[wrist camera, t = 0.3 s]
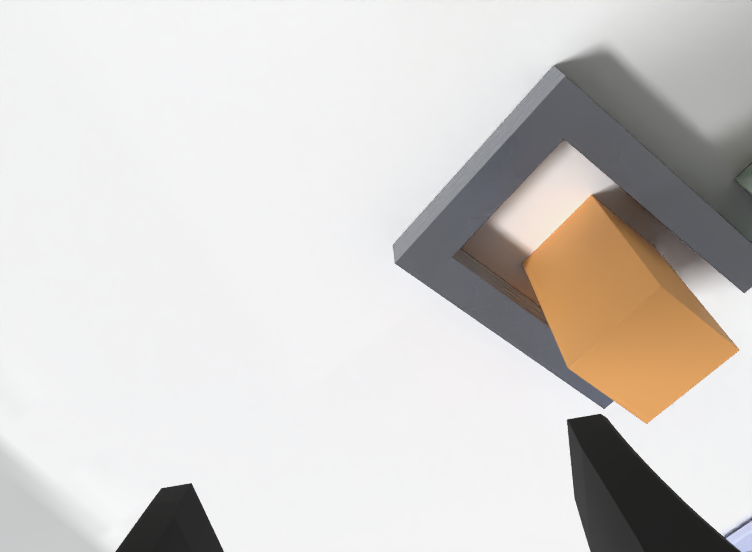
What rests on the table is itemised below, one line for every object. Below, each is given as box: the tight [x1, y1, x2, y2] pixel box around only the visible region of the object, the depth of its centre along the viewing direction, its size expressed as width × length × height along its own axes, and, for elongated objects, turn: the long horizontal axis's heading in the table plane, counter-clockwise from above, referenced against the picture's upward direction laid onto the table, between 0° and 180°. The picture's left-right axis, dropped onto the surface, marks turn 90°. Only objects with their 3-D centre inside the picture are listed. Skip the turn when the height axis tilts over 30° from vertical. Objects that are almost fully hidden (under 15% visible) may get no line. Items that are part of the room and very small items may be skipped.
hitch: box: [393, 66, 752, 409], centre depth 21 cm, size 9×7×1 cm
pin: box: [522, 195, 739, 424], centre depth 20 cm, size 3×3×6 cm
